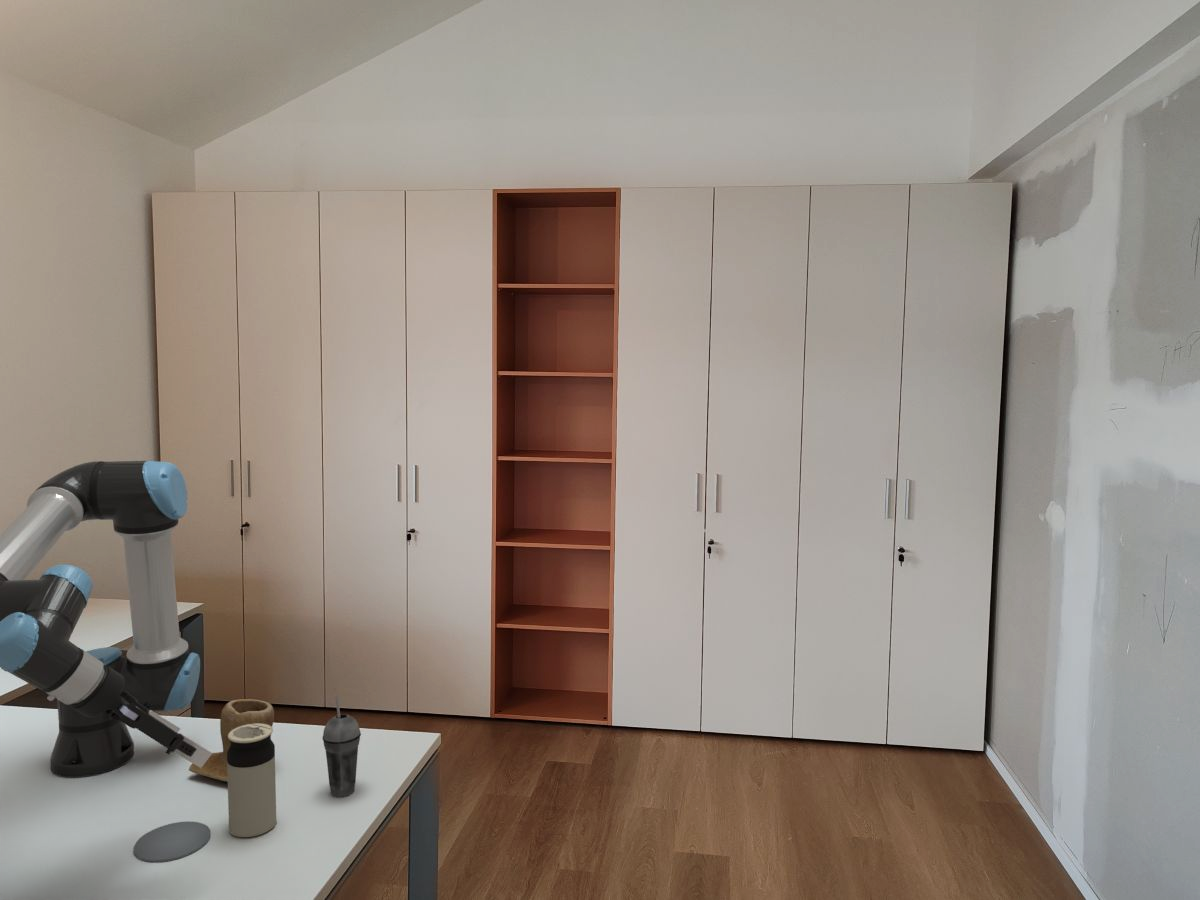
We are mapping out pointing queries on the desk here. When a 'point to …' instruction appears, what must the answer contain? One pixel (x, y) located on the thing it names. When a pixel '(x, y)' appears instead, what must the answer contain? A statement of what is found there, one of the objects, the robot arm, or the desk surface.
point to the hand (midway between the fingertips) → (189, 747)
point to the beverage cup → (341, 752)
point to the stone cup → (231, 718)
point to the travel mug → (251, 780)
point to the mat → (172, 841)
